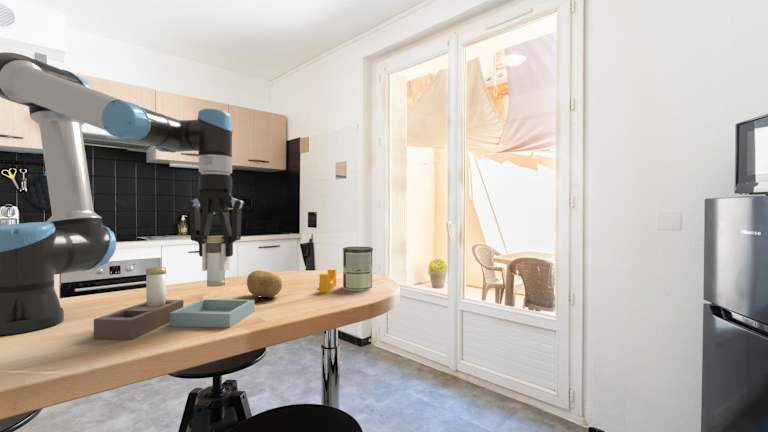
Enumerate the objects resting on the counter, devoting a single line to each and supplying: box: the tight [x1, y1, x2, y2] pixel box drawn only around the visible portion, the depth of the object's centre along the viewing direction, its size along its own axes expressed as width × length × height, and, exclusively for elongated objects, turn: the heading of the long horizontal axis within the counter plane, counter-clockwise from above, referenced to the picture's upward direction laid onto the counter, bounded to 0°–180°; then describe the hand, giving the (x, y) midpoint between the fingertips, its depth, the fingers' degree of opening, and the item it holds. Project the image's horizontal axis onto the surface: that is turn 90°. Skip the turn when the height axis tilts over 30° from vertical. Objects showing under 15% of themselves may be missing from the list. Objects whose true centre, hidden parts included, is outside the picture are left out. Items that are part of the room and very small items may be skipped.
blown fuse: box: [206, 235, 226, 288], centre depth 93 cm, size 4×4×12 cm
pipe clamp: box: [318, 268, 337, 294], centre depth 128 cm, size 12×4×6 cm, turn 173°
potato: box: [246, 270, 283, 299], centre depth 116 cm, size 10×14×8 cm
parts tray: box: [169, 298, 256, 329], centre depth 93 cm, size 14×14×3 cm
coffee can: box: [342, 246, 374, 292], centre depth 131 cm, size 10×10×14 cm
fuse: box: [145, 266, 167, 307], centre depth 91 cm, size 4×4×12 cm
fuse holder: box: [93, 299, 184, 341], centre depth 86 cm, size 8×18×4 cm, turn 177°
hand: (216, 269), depth 93 cm, fingers closed on blown fuse, 4 cm apart
